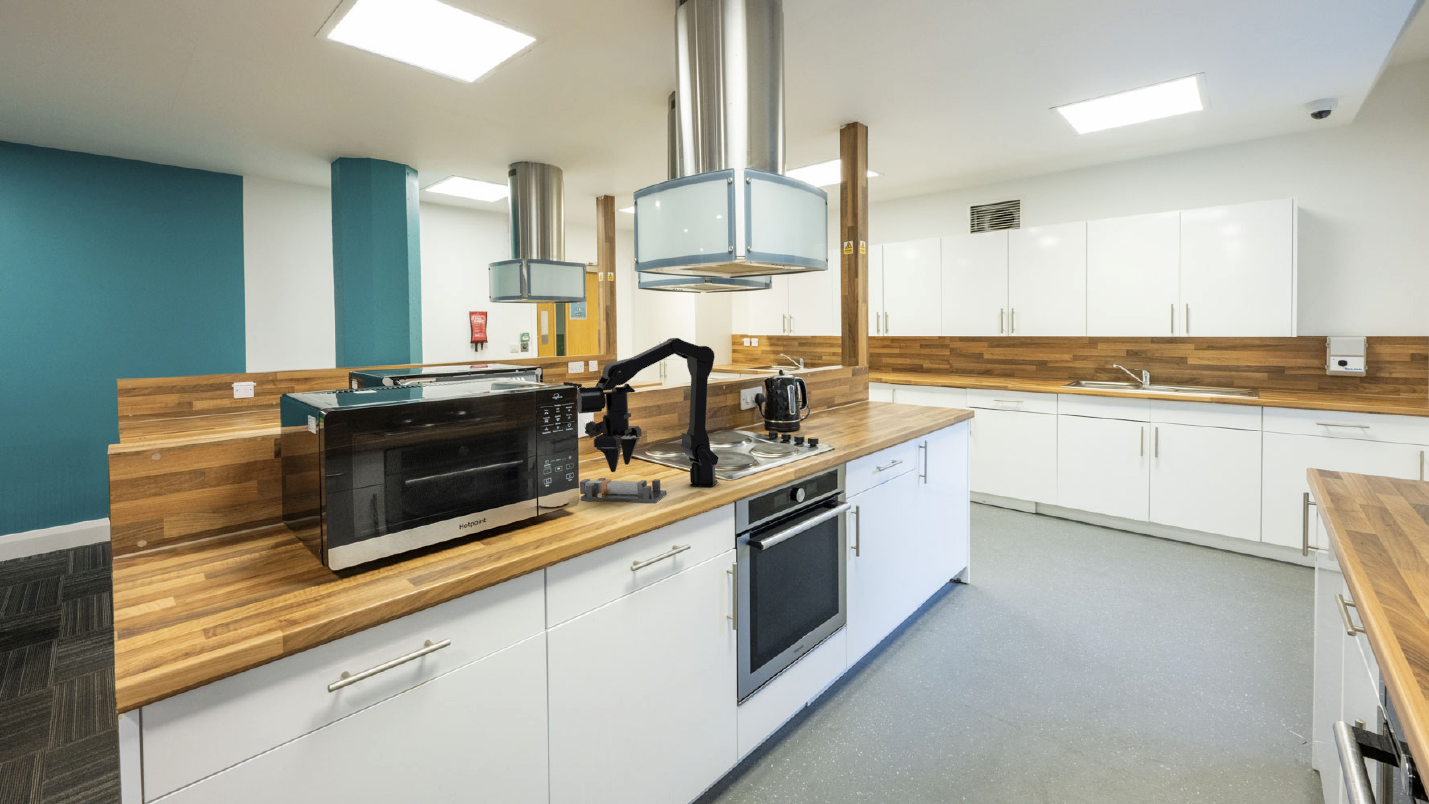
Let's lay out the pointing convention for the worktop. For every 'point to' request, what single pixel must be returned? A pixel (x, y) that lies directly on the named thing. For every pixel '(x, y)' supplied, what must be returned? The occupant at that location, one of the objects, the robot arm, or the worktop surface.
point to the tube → (614, 486)
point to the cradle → (647, 497)
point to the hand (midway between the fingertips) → (620, 468)
